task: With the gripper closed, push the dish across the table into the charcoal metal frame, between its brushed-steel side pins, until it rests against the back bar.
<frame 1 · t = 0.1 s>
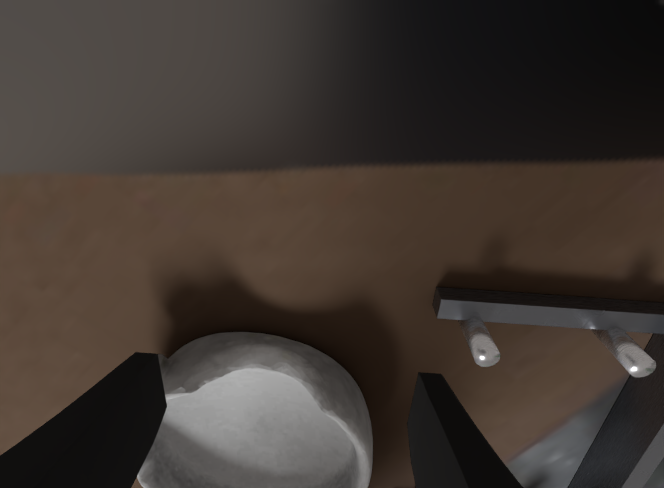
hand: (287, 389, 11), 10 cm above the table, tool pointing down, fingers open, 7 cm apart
dish: (266, 401, 26), on the table
pin frame: (475, 421, 25), on the table
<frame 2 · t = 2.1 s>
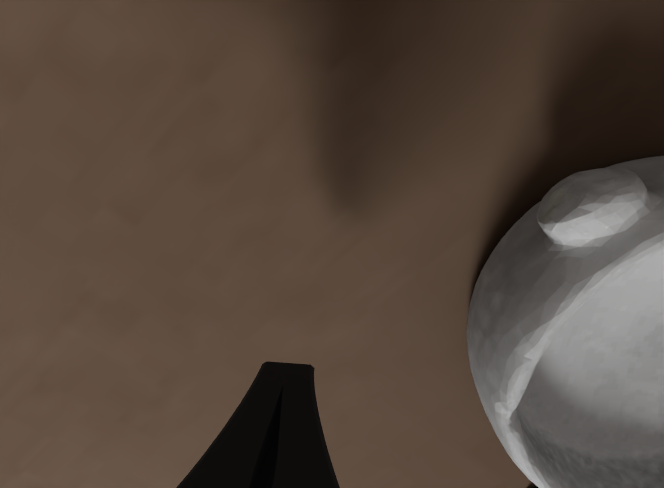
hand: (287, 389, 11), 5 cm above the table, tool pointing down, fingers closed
dish: (625, 310, 16), on the table
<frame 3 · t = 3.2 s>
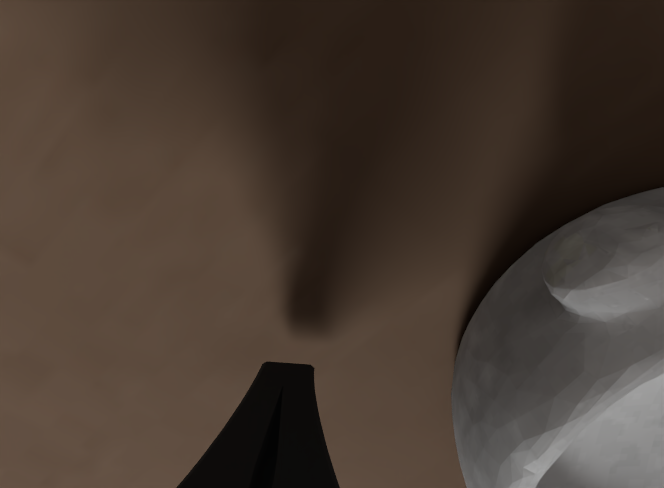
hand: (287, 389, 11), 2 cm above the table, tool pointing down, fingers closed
dish: (648, 363, 13), on the table
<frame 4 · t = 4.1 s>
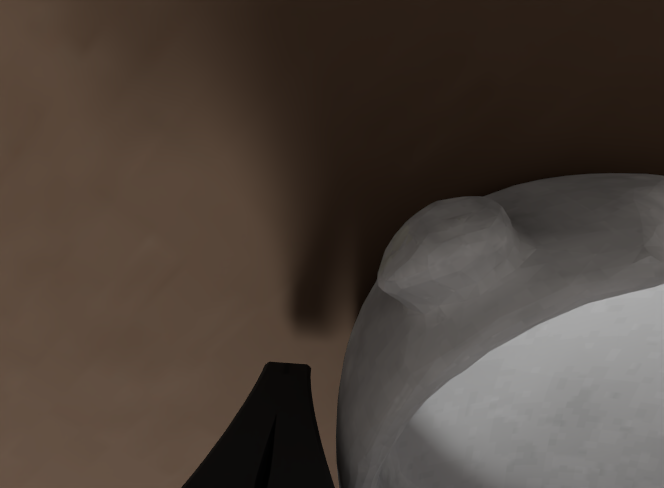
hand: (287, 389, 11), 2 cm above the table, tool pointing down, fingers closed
dish: (552, 361, 12), on the table, touching gripper
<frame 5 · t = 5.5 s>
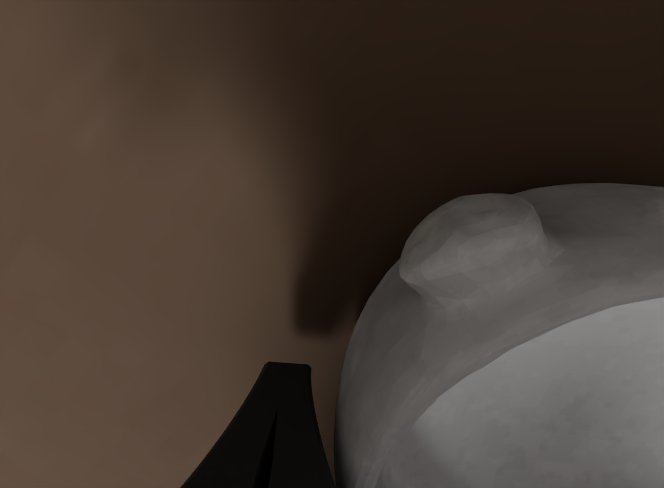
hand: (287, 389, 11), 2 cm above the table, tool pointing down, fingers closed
dish: (546, 368, 13), on the table, touching gripper
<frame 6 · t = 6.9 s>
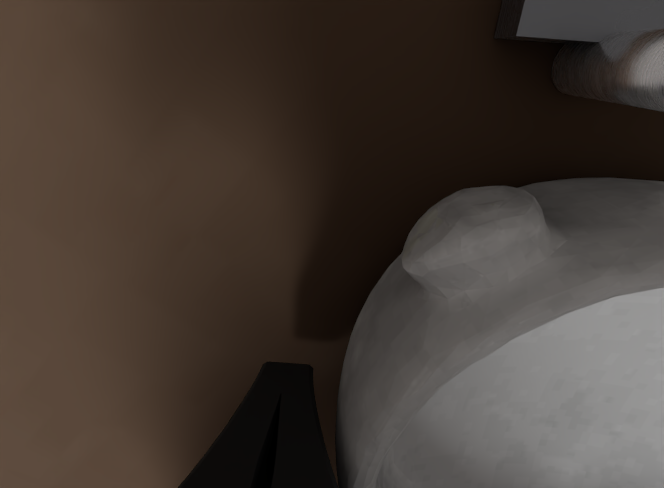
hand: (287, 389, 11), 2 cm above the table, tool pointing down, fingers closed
dish: (547, 364, 13), on the table, touching gripper
pin frame: (562, 367, 12), on the table
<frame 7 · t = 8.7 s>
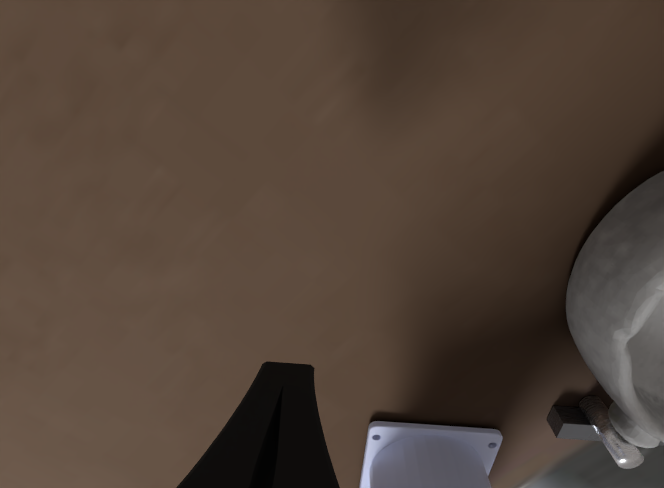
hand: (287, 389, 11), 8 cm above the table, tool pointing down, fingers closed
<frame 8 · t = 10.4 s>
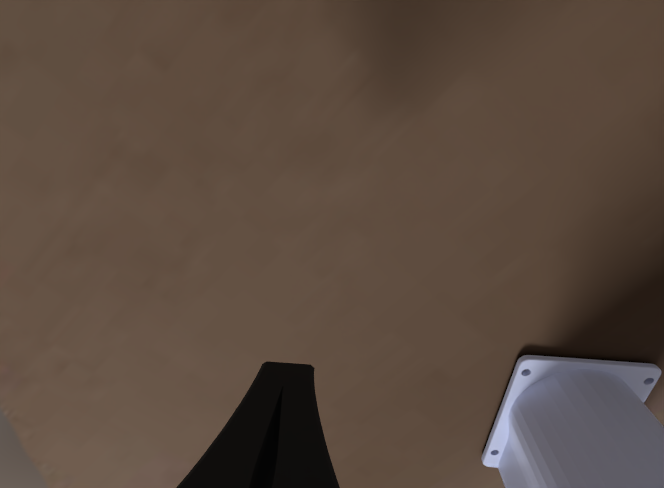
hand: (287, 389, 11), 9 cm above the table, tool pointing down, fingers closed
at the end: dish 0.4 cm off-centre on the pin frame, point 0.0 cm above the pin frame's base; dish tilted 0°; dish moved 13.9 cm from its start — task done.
